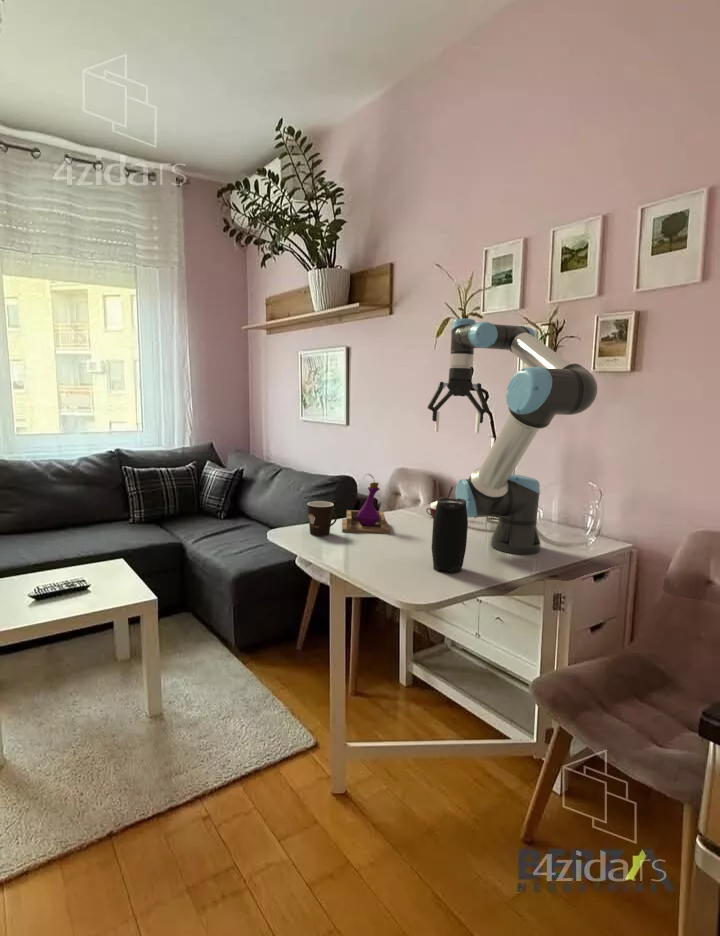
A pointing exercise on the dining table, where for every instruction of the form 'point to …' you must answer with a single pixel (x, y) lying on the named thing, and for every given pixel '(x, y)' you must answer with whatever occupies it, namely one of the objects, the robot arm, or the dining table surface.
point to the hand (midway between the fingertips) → (456, 432)
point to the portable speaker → (449, 534)
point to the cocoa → (434, 504)
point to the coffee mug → (320, 517)
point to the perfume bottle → (369, 508)
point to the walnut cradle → (354, 526)
